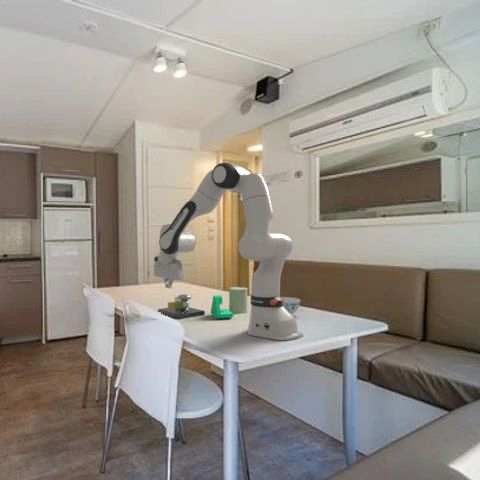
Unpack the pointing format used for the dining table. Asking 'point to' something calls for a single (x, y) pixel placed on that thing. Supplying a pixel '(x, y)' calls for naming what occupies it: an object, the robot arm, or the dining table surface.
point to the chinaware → (291, 304)
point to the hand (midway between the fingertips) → (168, 287)
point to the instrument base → (181, 312)
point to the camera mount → (216, 308)
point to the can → (238, 300)
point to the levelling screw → (180, 303)
